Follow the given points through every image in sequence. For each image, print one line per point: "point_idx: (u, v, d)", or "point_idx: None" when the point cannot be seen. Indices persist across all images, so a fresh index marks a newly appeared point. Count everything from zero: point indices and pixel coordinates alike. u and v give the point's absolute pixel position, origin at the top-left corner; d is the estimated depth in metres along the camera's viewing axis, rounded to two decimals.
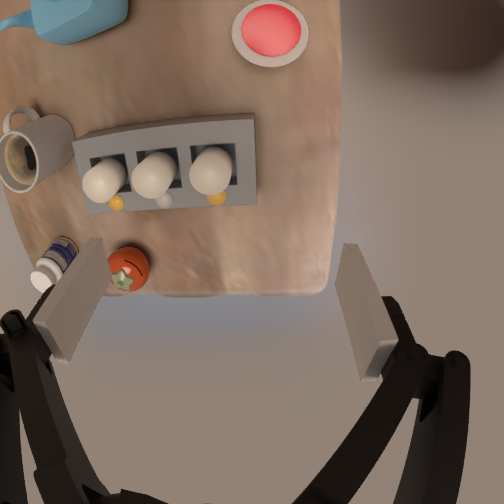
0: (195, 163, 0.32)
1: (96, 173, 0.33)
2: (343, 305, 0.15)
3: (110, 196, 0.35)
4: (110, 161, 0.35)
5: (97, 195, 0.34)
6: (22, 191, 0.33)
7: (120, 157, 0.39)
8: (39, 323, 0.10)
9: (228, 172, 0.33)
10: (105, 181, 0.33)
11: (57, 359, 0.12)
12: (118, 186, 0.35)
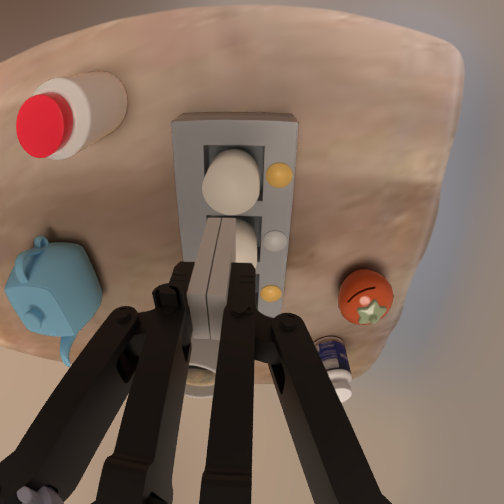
0: (211, 205, 0.25)
1: None
2: None
3: None
4: None
5: None
6: None
7: None
8: (195, 296, 0.12)
9: (226, 164, 0.23)
10: None
11: (196, 336, 0.14)
12: None
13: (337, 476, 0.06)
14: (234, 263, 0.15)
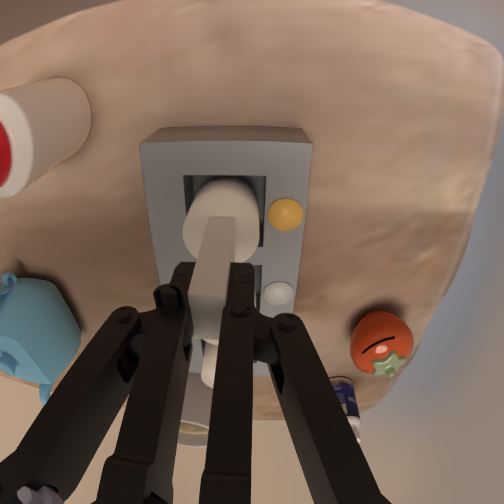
0: (196, 255, 0.19)
1: (208, 376, 0.26)
2: None
3: None
4: (205, 346, 0.28)
5: None
6: None
7: None
8: (196, 296, 0.12)
9: (213, 203, 0.17)
10: None
11: (196, 336, 0.14)
12: None
13: (336, 476, 0.06)
14: (233, 263, 0.15)
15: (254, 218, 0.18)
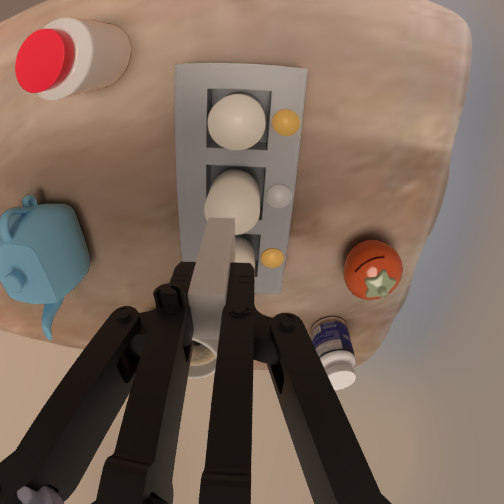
0: (216, 139, 0.24)
1: None
2: None
3: None
4: None
5: None
6: None
7: None
8: (196, 296, 0.12)
9: (233, 97, 0.22)
10: None
11: (197, 336, 0.14)
12: (241, 251, 0.29)
13: (336, 476, 0.06)
14: (233, 263, 0.15)
15: (262, 110, 0.23)
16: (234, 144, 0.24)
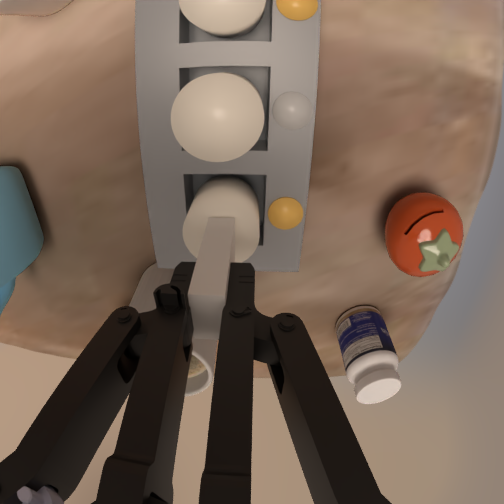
0: (191, 17, 0.12)
1: (193, 232, 0.18)
2: None
3: (247, 214, 0.18)
4: (193, 200, 0.20)
5: (241, 241, 0.19)
6: (210, 375, 0.24)
7: None
8: (196, 296, 0.12)
9: None
10: (211, 217, 0.18)
11: (196, 336, 0.14)
12: (236, 193, 0.18)
13: (336, 476, 0.06)
14: (233, 263, 0.15)
15: None
16: (219, 22, 0.13)
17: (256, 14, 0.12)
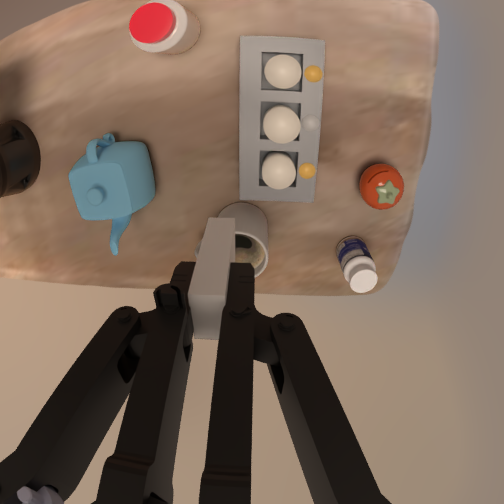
0: (270, 81, 0.34)
1: (267, 171, 0.41)
2: None
3: (291, 164, 0.40)
4: (263, 160, 0.43)
5: (287, 176, 0.42)
6: (266, 259, 0.46)
7: None
8: (196, 296, 0.12)
9: (280, 55, 0.32)
10: (275, 165, 0.41)
11: (197, 336, 0.14)
12: (285, 156, 0.41)
13: (336, 476, 0.06)
14: (233, 263, 0.15)
15: (299, 64, 0.33)
16: (282, 84, 0.35)
17: (297, 82, 0.34)
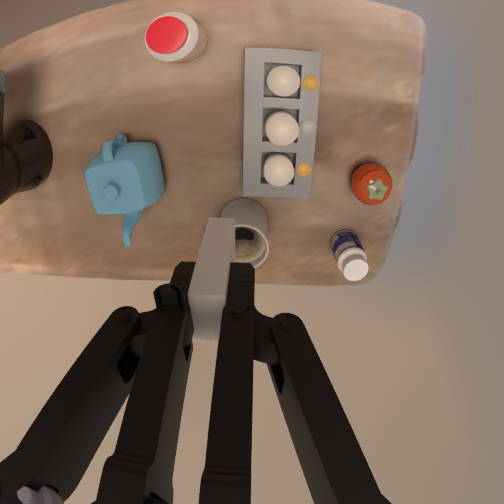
0: (272, 90, 0.39)
1: (268, 170, 0.46)
2: None
3: (289, 164, 0.45)
4: (264, 160, 0.48)
5: (287, 175, 0.46)
6: (267, 250, 0.50)
7: None
8: (196, 296, 0.12)
9: (281, 66, 0.37)
10: (276, 164, 0.45)
11: (197, 336, 0.14)
12: (285, 156, 0.46)
13: (336, 476, 0.06)
14: (233, 263, 0.15)
15: None
16: (282, 93, 0.39)
17: (296, 90, 0.39)
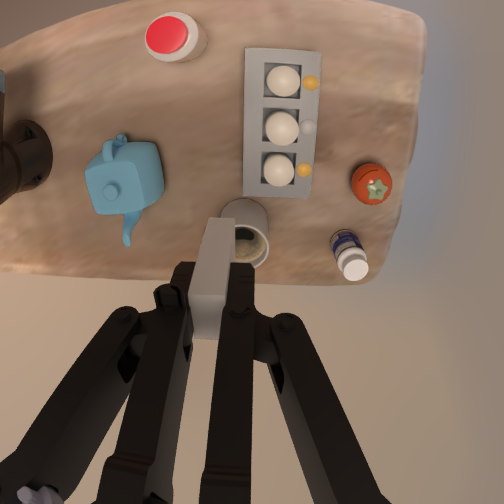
0: (272, 90, 0.39)
1: (268, 170, 0.46)
2: None
3: (289, 164, 0.45)
4: (264, 160, 0.48)
5: (287, 175, 0.46)
6: (267, 250, 0.50)
7: None
8: (196, 296, 0.12)
9: (281, 66, 0.37)
10: (276, 164, 0.45)
11: (197, 336, 0.14)
12: (285, 157, 0.46)
13: (336, 476, 0.06)
14: (233, 263, 0.15)
15: None
16: (282, 93, 0.39)
17: (296, 90, 0.39)
